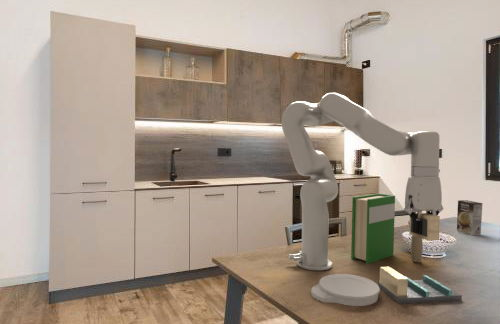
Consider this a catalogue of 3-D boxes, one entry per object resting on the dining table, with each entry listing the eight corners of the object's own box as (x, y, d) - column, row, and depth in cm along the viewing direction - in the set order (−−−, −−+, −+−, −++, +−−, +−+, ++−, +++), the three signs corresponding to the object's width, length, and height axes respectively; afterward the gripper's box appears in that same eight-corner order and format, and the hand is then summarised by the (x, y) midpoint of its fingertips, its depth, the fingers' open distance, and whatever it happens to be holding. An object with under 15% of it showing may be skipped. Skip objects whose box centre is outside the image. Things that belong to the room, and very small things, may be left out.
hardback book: (367, 263, 130) (369, 199, 129) (351, 258, 136) (352, 197, 134) (393, 255, 141) (395, 195, 140) (376, 250, 146) (378, 193, 145)
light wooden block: (408, 234, 109) (408, 212, 109) (418, 233, 110) (418, 211, 110) (428, 240, 102) (429, 216, 101) (439, 239, 103) (439, 216, 103)
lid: (301, 285, 109) (301, 276, 109) (359, 281, 114) (359, 271, 114) (325, 311, 93) (325, 300, 92) (392, 304, 97) (392, 293, 97)
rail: (399, 303, 97) (399, 280, 97) (377, 286, 109) (378, 265, 108) (461, 300, 99) (462, 277, 99) (434, 283, 111) (434, 263, 111)
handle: (420, 264, 129) (421, 224, 128) (404, 260, 135) (405, 221, 134) (428, 262, 131) (429, 223, 131) (412, 258, 137) (413, 220, 136)
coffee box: (455, 231, 182) (457, 200, 181) (465, 230, 184) (466, 199, 183) (471, 235, 173) (473, 203, 173) (481, 234, 175) (482, 202, 175)
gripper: (436, 171, 111) (435, 228, 112) (392, 172, 106) (391, 232, 107) (456, 172, 104) (455, 233, 105) (411, 174, 99) (409, 238, 100)
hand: (423, 232), depth 106 cm, fingers closed on light wooden block, 3 cm apart
